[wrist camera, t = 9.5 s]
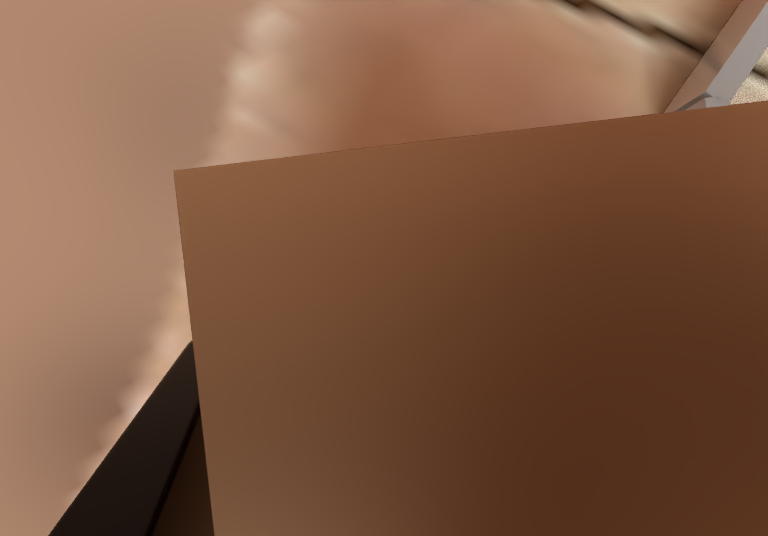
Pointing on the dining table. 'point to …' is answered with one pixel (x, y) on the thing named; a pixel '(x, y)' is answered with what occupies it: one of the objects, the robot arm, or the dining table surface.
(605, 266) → the walnut block
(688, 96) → the grey octagonal ring
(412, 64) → the dining table surface
